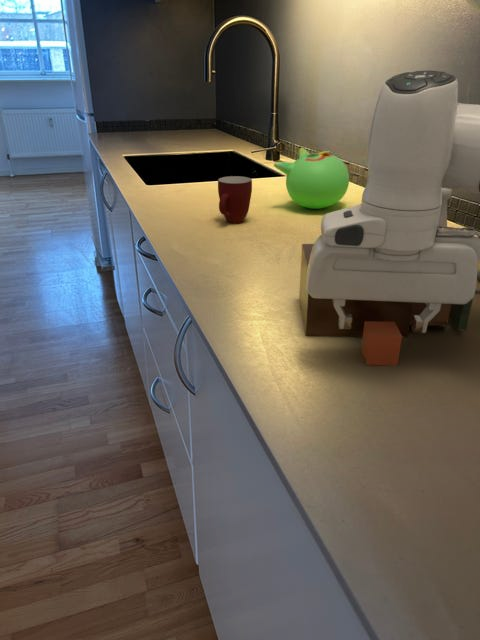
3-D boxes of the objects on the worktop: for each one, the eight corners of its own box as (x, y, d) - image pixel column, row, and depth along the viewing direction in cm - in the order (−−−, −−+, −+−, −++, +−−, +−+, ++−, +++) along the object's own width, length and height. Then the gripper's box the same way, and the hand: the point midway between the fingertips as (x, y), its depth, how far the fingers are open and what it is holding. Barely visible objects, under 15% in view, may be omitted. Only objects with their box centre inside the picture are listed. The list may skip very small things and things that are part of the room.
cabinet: (387, 299, 84) (395, 244, 80) (407, 337, 73) (418, 274, 69) (299, 299, 85) (302, 243, 80) (305, 335, 74) (309, 273, 69)
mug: (240, 230, 118) (240, 187, 114) (209, 226, 121) (207, 184, 116) (256, 218, 127) (256, 177, 122) (226, 215, 130) (225, 175, 125)
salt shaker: (445, 254, 104) (457, 190, 98) (415, 251, 105) (425, 188, 99) (444, 245, 108) (456, 183, 103) (416, 242, 110) (426, 181, 104)
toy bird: (331, 219, 126) (336, 157, 119) (270, 210, 134) (271, 152, 127) (355, 203, 140) (360, 147, 133) (298, 195, 147) (301, 142, 141)
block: (390, 350, 70) (394, 321, 68) (397, 365, 66) (402, 336, 64) (361, 349, 70) (364, 321, 68) (366, 365, 67) (370, 335, 65)
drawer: (470, 297, 83) (481, 251, 80) (500, 330, 73) (514, 280, 69) (357, 296, 84) (362, 250, 80) (371, 329, 73) (377, 279, 70)
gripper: (479, 220, 62) (456, 321, 68) (309, 215, 63) (302, 314, 70) (498, 236, 56) (471, 345, 63) (312, 230, 58) (304, 337, 64)
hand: (381, 329), depth 66 cm, fingers open, 8 cm apart
